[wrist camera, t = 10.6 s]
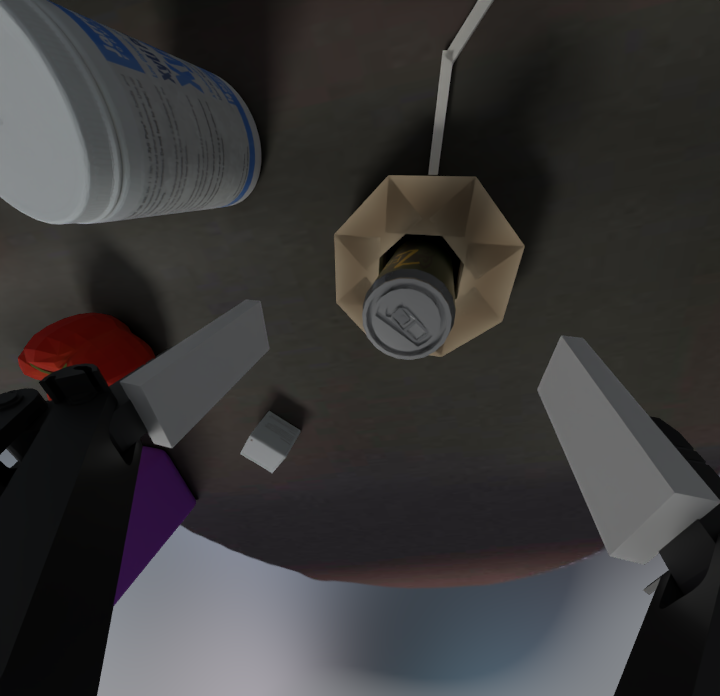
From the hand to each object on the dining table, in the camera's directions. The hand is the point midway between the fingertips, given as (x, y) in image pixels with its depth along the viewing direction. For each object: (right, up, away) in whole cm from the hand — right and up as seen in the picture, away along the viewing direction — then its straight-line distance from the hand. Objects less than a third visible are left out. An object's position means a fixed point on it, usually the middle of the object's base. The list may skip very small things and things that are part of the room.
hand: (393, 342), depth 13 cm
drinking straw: (+5, +17, +6) cm, 19 cm away
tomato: (-35, 0, +29) cm, 45 cm away
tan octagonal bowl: (+4, +7, +13) cm, 15 cm away
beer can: (+4, +7, +13) cm, 15 cm away
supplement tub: (-14, +18, +12) cm, 26 cm away
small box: (-14, -12, +30) cm, 35 cm away
